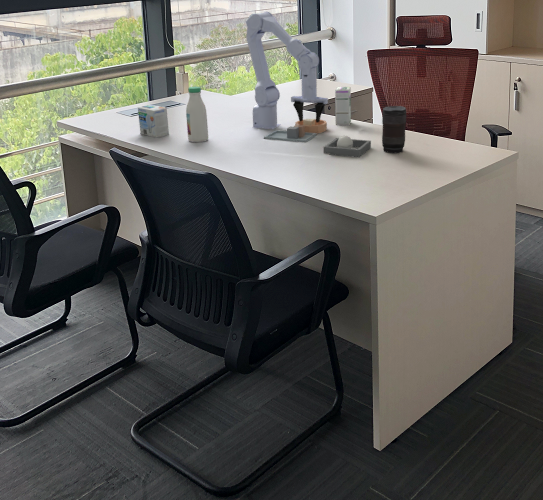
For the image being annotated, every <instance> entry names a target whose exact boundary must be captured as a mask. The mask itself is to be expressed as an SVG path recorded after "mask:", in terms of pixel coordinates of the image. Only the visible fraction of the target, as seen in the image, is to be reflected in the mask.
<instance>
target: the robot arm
mask: <svg viewBox="0 0 543 500" xmlns="http://www.w3.org/2000/svg"><path fill="white" fill-rule="evenodd" d="M245 24H246V28H247V29H246V42H247V46H248V50H249V54H250V57H251V62H252V66H253V70H254V74H255V78H256V81H257V83H256V84H255V87H254V93H255V94H254V100H255V102H256V104H255V105H254V106H253V108H252V128H254V129H255V128H257V129H268V130H274V129H276V128H278V127H280V126H281V125H282V124H281V123H278V107H277V104H278V101H279V99H280V97H281V95H280V94H281V93H280V91H279V89H278V87H277V86H276V85H277V84H276V82H274V81H273V80H272V78H271V74H270V71H269V65H268V62H267V58H266V53H265V50H264V49H265V48H264V45H263V42H262V39H263V36H264V35H265V34H266V32H268V33H272V34H273V35H274V36H275V37H276V38H277V39H278V40H279V41H281V42H282V43H283V44H284V45H285V46H286V49H285V50H286V51H287V52H288V53H289V55H291V56H292V57H293V58H294V59H295V61H297V65H298V67H299V69H300V74H301V95H298V96H297V95H293V96H291V97H290V102H291V103H293V107H294V109H295V111H296V113H297V116H298V121H302V120H304V104H305V103H308V104H309V103H310V104H311V103H312V104H314V109H315V119H316V122H317V123H318V122H320V120H321V117H322V116H321V115H322V113H323V111H324V109H325V106H326V105H327V104H328V103H329V100H328V99H329V98H328V97H321V96H317V95H318V94H317V93H318V92H317V89H318V88H317V85H318V84H317V83H318V82H317V67H318V66H319V64H320V58H319V56H318V55H317V53H316V52H314V51H313V52H312V51H311V49H309V48H307V47H306V46H305V45H304V44H303V43H302V42H303V41H302V40H301V39H298V38H292V36H291V35H290V34H289V33H288V31H286V29H284V27H283V25H281V24H280V23H279V22H278V20H277V17H276V16H274V15H273V13H271V12H270V11H263V12H259V13H258V12H255V13H251V14H250V15H249V16H248V18H247V20H246V21H245Z"/></svg>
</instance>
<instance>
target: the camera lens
mask: <svg viewBox="0 0 543 500" xmlns="http://www.w3.org/2000/svg"><path fill="white" fill-rule="evenodd" d="M381 115H382V119H381V124H382V133H381V134H382V135H381V141H382V142H381V144H382V149H383V152H385V153H388V154H399V153H403V151H404V147H405V144H406V124H407V108H406V107H405V106H402V105H390V106H385V107H383V108H382V114H381Z"/></svg>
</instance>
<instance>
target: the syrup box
mask: <svg viewBox="0 0 543 500" xmlns="http://www.w3.org/2000/svg"><path fill="white" fill-rule="evenodd" d="M351 91H352V89H351V87H350V86H338V87H336V89H335V91H334V95H335V97H334V99H335V100H334V101H335V103H334V104H335V106H334V107H335V109H334V110H335V111H334V113H335V115H334V116H335V126H344V127H345V126H351V125H350V124H351V122H352V119H351V118H352V117H351V116H352V105H351V103H352V102H351V101H352V99H351V98H352V97H351V96H352V95H351Z"/></svg>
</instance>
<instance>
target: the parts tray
mask: <svg viewBox="0 0 543 500" xmlns="http://www.w3.org/2000/svg"><path fill="white" fill-rule="evenodd" d="M316 136H317V133H307V132H305V136H304V137H299V138H298V139H292V138H287V130H283V129H281V130H279V129H275V130H273V131H272V132H269V133H268V134H266V135H264V136H263V139H264V140H274V141H275V140H276V141H286V142H297V143H298V142H301V143H306V142H308V141H310V140H312V138H315V137H316Z"/></svg>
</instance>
